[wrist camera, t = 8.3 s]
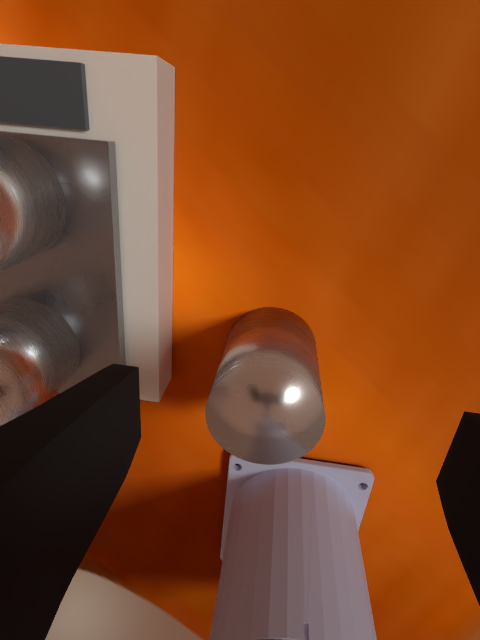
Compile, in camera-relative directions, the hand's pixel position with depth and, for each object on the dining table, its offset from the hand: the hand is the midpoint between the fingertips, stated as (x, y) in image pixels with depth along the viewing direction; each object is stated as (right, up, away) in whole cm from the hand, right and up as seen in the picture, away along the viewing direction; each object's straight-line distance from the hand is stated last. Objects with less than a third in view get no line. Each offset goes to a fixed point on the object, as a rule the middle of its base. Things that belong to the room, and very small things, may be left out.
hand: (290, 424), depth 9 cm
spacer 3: (0, +1, +11) cm, 11 cm away
